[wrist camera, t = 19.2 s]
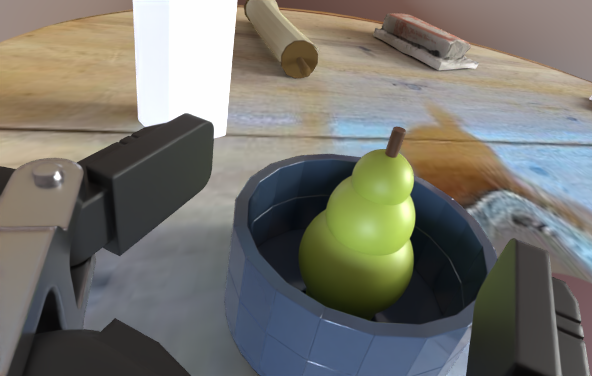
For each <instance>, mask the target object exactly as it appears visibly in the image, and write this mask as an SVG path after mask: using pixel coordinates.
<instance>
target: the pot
mask: <svg viewBox="0 0 592 376" xmlns="http://www.w3.org/2000/svg"><path fill="white" fill-rule="evenodd" d="M360 159H361V157H353V156H345V155H336V154H317V155H300V156H296V157H292V158H289V159H285V160H282V161H278V162H275V163H271V164H270V165H268V166H267V167H265V168H264V169H262V170H260V171H259V172H257V173H256V174H254V175H253V176H251V177H250V178H249V179H248V181H247V182H246V184H245V185H244V187H243V188H242V190H241V191H240V193H239V194H238V196H237V197H236V199H235V208H234V217H233V226H232V234H231V243H230V252H229V261H228V270H227V280H226V291H225V302H224V303H225V311H226V318H227V322H228V326H229V329H230V332H231V334H232V336H233V339H234V341H235V343H236V345H237V347H238V348H239V350H240V352H241V353H242V355H243V357H244V358H245V359H246V360H247V361H248V363H249V364H250V365H251V366H252V368H253V369H254V370H255V371H256V372H257V373H258V374H259V375H260V376H446V375H447V374H448V372H449V371H450V369H451V368H452V366H453V365H454V363H455V362H456V360H457V359H458V357H459V356H460V354H461V353H462V351H463V350H464V348H465V347H466V345H467V344H468V342H469V341H470V338H471V329H472V320H473V312H474V305H475V301H476V298H477V295H478V293H479V290H480V288H481V286H482V284H483V282H484V281H485V279H486V278H487V276H488V274H489V273H490V271H491V269H492V268H493V266H494V265H495V263H496V261H497V255H496V250H495V249H494V247H493V245H492V243H491V242H490V240H489V239H488V237H487V236H486V234H485V232H484V231H483V229H482V228H481V226H480V224H479V223H478V222H477V221H476V220H475V219H474V218H473V217H472V216H471V215H470V214H469V213H468V212H467V211H466V210H465V209H464V208H463V207H462V206H461V205H460V204H458V203H457V202H456V201H455V200H454V199H453V198H452V197H450V196H449V195H447V194H446V193H444V192H442V191H441V190H439V189H438V188H436V187H435V186H433V185H432V184H430V183H429V182H427V181H425V180H423V179H421V178H419V177H417V176H414V184H413V188H412V191H411V193H410V196H411V198H412V201H413V204H414V208H415V225H414V229H413V232H412V234H411V236H410V238H409V239H410V241H411V244H412V249H413V255H414V266H413V272H412V276H411V279H410V282H409V285H408V286H407V288H406V290H405V291H404V293H403V295H402V296H401V297H400V298H399V299H398V300H397V301H396V302H395V303H394V304H393V305H391V306H390V307H389V308H387V309H386V310H384V311H382V312H379V313H377V314H375V315H374V317H373V318H372V319H371V320H370V321H369V320H366V319H363V318H360V317H356V316H353V315H350V314H347V313H344V312H341V311H338V310H335V309H331V308H328V307H326V306H324V305H322V304H321V303H319V302H317V301H316V300H314V299H313V298H311V297H309V296H308V295H306V288H307V287H306V285H305V283H304V281H303V279H302V276H301V273H300V268H299V247H300V243H301V240H302V237H303V235H304V233H305V231H306V229H307V227H308V226H309V224H310V223H311V222H312V220H313V219H314V218H315V217H316V216H318V215H319V214H320V213H321V212H322V211H324V210H326V208H327V203H328V201H329V198H330V196H331V194H332V192H333V191H334V190H335V188H336V187H337V186H338V185H339V184H340V183H341V182H342V181H343V180H345V179H346V178H348V177H350V176H352V173H353V170H354V167H355V165H356V163H357V162H358V161H359V160H360Z"/></svg>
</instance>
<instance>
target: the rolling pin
mask: <svg viewBox="0 0 592 376" xmlns="http://www.w3.org/2000/svg"><path fill="white" fill-rule="evenodd" d="M244 10H245V15H246V17H247V18H248V20H249V21H251V23H252V24H253V26H254V27H255V29H256V30H257V32H258V33H259V35H260V36H261V38H262V39H263V40H264V42H265V43H266V44H267V46H268V47H269V48H270V50H271V51H272V52H273V54H274V55H275V56H276V57H277V59H278V60H279V61H280V62H281V66H282V68H283V69H284V71H285V73H286V74H287V75H289V76H291V77H293V78H304V77H308V76H309V75H310V73H312V72H313V70H314V69H315V67H316V65H317V62H318V53H317V51H316V50H318V51H320V50H319V49H318V48H317V46H316V45H315V44H314V43H313V42H312V41H310V40H309V39H308V38H307V37H306V36H305V35H304V34H302V33H301V32H300V31H299V30H298V29H297V28H296V27H295V26H294V25H293V24H292V23H291V22H290V21H289V20H287V19H286V18H285V16H284V15H283V14H282V13H281V12H280V10H279V8H278V6H277V3H276V1H274V0H247V1H246V3H245V5H244ZM315 49H316V50H315Z"/></svg>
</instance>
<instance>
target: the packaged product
mask: <svg viewBox="0 0 592 376" xmlns="http://www.w3.org/2000/svg"><path fill="white" fill-rule="evenodd" d="M384 20H385V21H384V23H383V25H382V28H381V29H377V28H376V29H375V31H374V34H373V36H375V37H377V38H379V39H381V40H383V41H384V42H386V43H388V44H390V45H392V46H393V47H395V48H396V49H398V50H399V51H401V52H402V53H405V54H408V55H411V56H413V57H415V58H417V59H419V60H420V61H422V62H424V63H426V64H428V65H429V66H431V67H433V68H435V69H437V70H438V71H439V70H448V69H459V68H472V69H476V67H477V65H478V62H475V61H471V59H469V58H466V57H464V54H465V53H466V52H467V51H468V50H469V49H470V48H471V45H470V44H469V43H467V42H466V41H464V40H462V39H460V38H458V37H456V36H454V35H452V34H449V33H447V32H445V31H443V30H441V29H439V28H437V27H435V26H432V25H430V24H428V23H426V22H424V21H422V20H420V19H417V18H415V17H413V16H411V15H408V14H387V15H386V17H385V19H384Z"/></svg>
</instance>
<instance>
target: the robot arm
mask: <svg viewBox="0 0 592 376" xmlns="http://www.w3.org/2000/svg"><path fill="white" fill-rule="evenodd" d="M213 143H214V125H213V123H212V122H210V121H208V120H205V119H203V118H200V117H197V116H195V115H192V114H189V113H184V114H182V115H180V116H178V117H176V118H174V119H172V120H170V121H169V122H167V123H161V124H157V125H152V126H148V127H145V128H143V129H141V130H139V131H137V132H135V133H133V134H132V135H131V136H127V137H125V138H123V139H122V140H120V142H119V143H118V142H116V143H114V144H112V145H110V146H108V147H106V148H104V149H102V150H100V151H98V152H96V153H94V154H92V155H90V156H89V157H87V158H85V159H83V160H81V161H79V162H77V163H76V162H73V161H71V160H67V159H62V158H46V159H39V160H35V161H31V162H29V163H26V164H24V165H22V166H20V167H19V168H17V169H12V168H7V167H1V166H0V376H191V375H190V374H189V373H188V372H187V371H186V370H185V369H184V368H183V367H182V366H181V365H180V364H179V363H178V362H177V361H176V360H175V359H174V358H173V357H172V356H171V355H170V354H169V353H168V352H167V351H166V350H165V349H164V348H163V346H162V345H161V344H160V343H159V342H157V341H155V340H153V339H151V338H150V337H148V336H146V335H144V334H142V333H141V332H139V331H137V330H135V329H133V328H132V327H130V326H128V325H126V324H124V323H123V322H121V321H119V320H117V319H114V320H113V321H112V322H111V323H110V324H108V325H107V326H106V327H105V328H104V329H103V330H102V331H101V332H100V331H94V330H85V329H83V323H84V317H85V312H86V307H87V302H88V297H89V292H90V287H91V283H92V278H93V273H94V268H95V263H96V258H95V253H96V252H97V251H98V250H100V249H101V248H102V247H103V248H104V249H106V250H108V251H110V252H112V253H114V254H116V255H118V256H121V255H122V254H123V253H124V252H125V251H127V250H128V249H129V248H130V247H132V246H133V245H134V244H135V243H137V242H138V241H139V240H140V239H142V238H143V237H144V236H145V235H147V234H148V233H149V232H150V231H152V230H153V229H154V228H155V227H156V226H158V225H159V224H160V223H161V222H163V221H164V220H165V219H166V218H168V217H169V216H170V215H171V214H173V213H174V212H175V211H176V210H178V209H179V208H180V207H181V206H183V205H184V204H185V203H186V202H187V201H189V200H190V199H191V198H192V197H194V196H195V195H196V194H197V193H199V192H200V191H201V190H202V189H203V188H204V187H205V186H206V184H207V182H208V180H209V178H210V175H211V171H212V159H213ZM580 323H581V317H580V312H579V305H578V302H577V300H576V299H575V297H574V295H573V294H572V292H571V291H570V289H569V287H568V286H567V285H566V283H565V282H564V281H561V280H559V279H556V278H554V277H551V267H550V257H549V253H548V251H546V250H543V249H541V248H538V247H535V246H533V245H530V244H527V243H525V242H522V241H520V240H517V239H514V238H513V239H511V240H510V241H509V242H508V244H507V245H506V247H505V248H504V250H503V252H502V253H501V255H500V256H499V258H498V260H497V261H496V263H495V265H494V266H493V268H492V269H491V271H490V273H489V274H488V276H487V278H486V279H485V281H484V282H483V284H482V286H481V288H480V290H479V293H478V295H477V298H476V301H475V305H474V312H473V320H472V329H471V338H470V346H469V355H468V364H467V372H466V376H590V371H589V365H588V359H587V353H586V348H585V342H584V341H583V338H584V336H583V329H582V325H580Z"/></svg>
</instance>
